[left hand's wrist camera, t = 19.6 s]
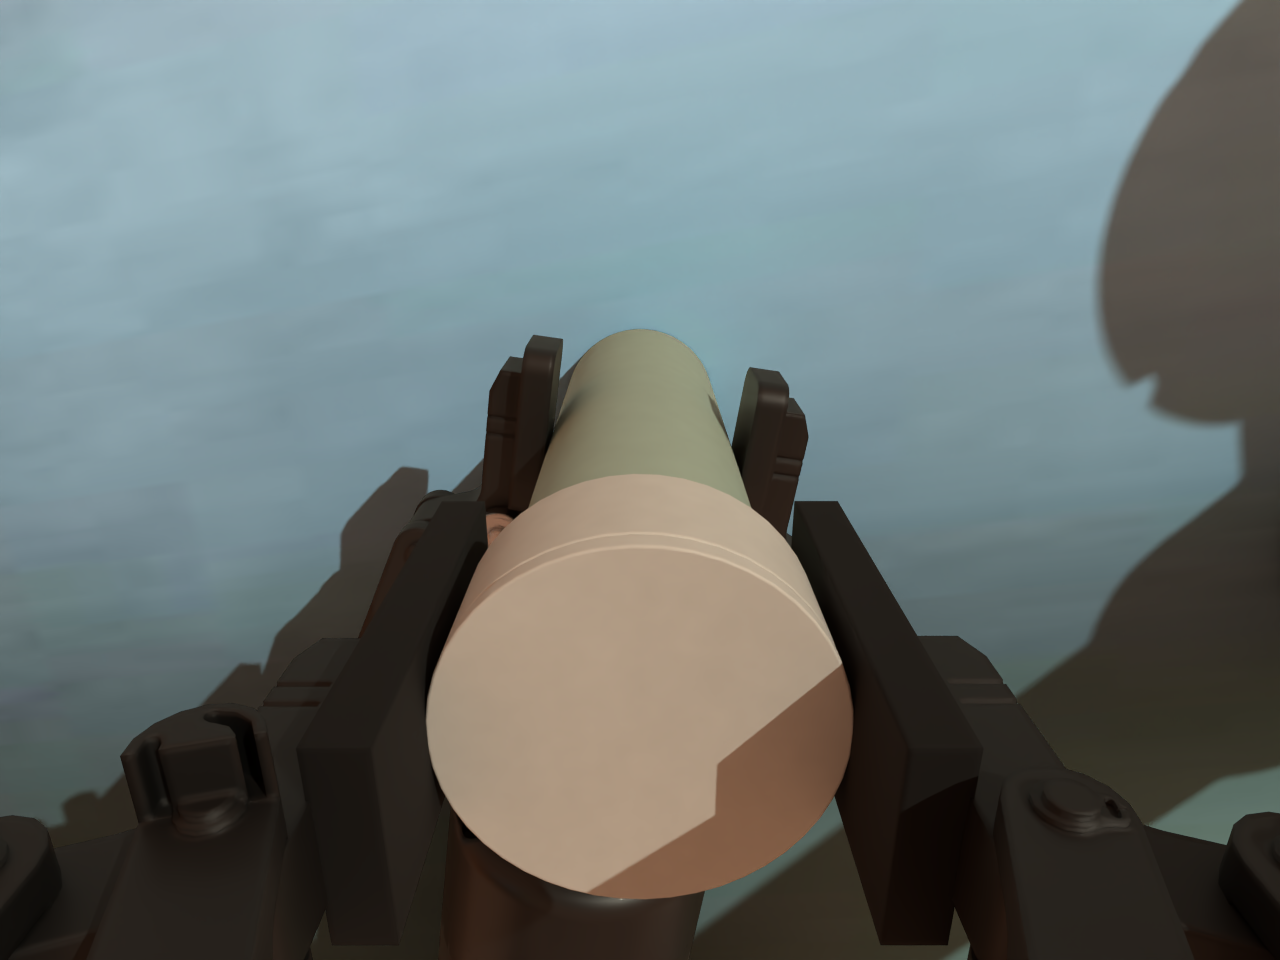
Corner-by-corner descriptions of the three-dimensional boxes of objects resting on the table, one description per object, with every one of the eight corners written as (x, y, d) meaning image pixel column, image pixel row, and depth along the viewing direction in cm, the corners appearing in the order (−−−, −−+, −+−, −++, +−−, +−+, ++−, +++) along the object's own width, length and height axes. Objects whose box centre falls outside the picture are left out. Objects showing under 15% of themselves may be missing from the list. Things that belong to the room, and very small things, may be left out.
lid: (769, 427, 11) (801, 491, 9) (848, 734, 13) (891, 851, 11) (408, 529, 12) (354, 614, 10) (532, 810, 14) (511, 936, 12)
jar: (669, 491, 27) (704, 869, 12) (544, 430, 26) (424, 757, 12) (738, 370, 25) (868, 638, 11) (607, 302, 24) (561, 493, 10)
